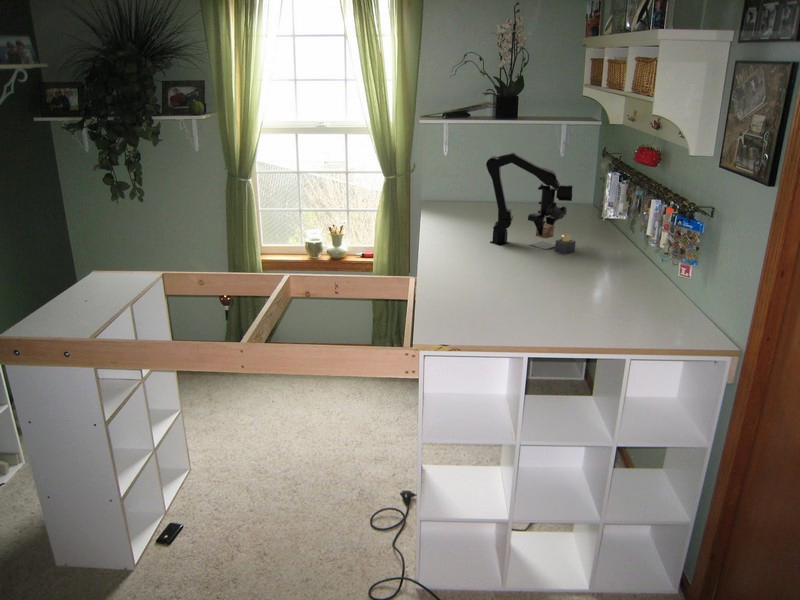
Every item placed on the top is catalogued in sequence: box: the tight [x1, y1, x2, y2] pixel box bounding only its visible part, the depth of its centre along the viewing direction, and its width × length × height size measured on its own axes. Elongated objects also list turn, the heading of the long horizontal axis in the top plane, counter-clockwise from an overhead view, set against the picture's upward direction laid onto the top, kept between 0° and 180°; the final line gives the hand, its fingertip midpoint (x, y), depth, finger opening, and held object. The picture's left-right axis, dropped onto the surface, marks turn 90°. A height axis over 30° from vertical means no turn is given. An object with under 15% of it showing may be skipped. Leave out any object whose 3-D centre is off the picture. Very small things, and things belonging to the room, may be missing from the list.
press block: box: [554, 238, 577, 255], centre depth 283 cm, size 6×6×5 cm
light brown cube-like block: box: [535, 223, 555, 240], centre depth 290 cm, size 6×6×5 cm
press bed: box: [529, 240, 556, 251], centre depth 293 cm, size 9×9×1 cm
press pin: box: [561, 233, 572, 242], centre depth 282 cm, size 4×4×5 cm
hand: (544, 234), depth 291 cm, fingers closed on light brown cube-like block, 5 cm apart
